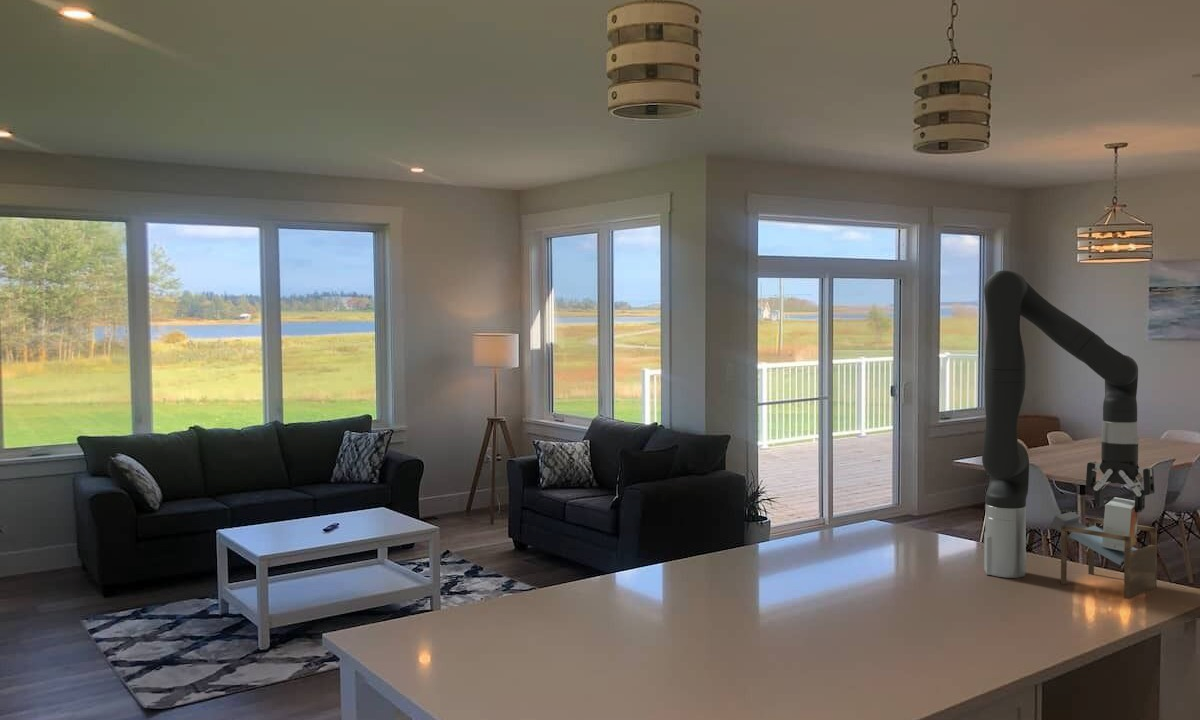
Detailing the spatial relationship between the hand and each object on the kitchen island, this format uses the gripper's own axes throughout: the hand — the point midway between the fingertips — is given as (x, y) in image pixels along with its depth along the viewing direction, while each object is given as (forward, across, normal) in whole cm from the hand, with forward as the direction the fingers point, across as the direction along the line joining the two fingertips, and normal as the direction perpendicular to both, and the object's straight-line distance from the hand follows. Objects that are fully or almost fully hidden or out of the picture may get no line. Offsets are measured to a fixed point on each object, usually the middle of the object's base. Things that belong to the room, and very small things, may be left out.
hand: (1119, 509), depth 216 cm
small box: (+9, 0, 0) cm, 9 cm away
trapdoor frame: (+19, -2, 0) cm, 19 cm away
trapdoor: (+9, -6, 0) cm, 11 cm away
